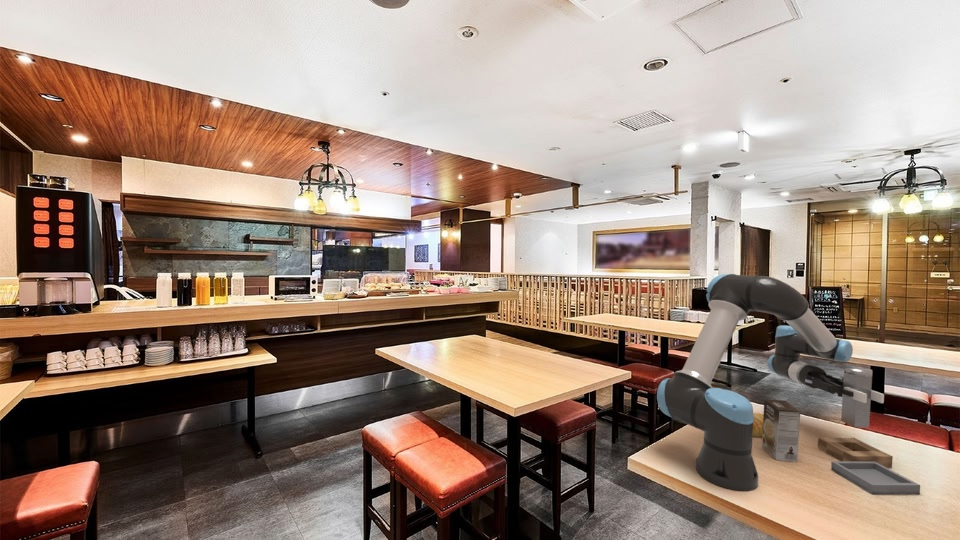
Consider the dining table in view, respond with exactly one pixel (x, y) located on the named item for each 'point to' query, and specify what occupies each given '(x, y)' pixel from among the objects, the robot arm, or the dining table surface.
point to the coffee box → (781, 430)
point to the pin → (851, 408)
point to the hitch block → (853, 451)
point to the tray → (875, 477)
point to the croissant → (758, 425)
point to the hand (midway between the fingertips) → (873, 398)
